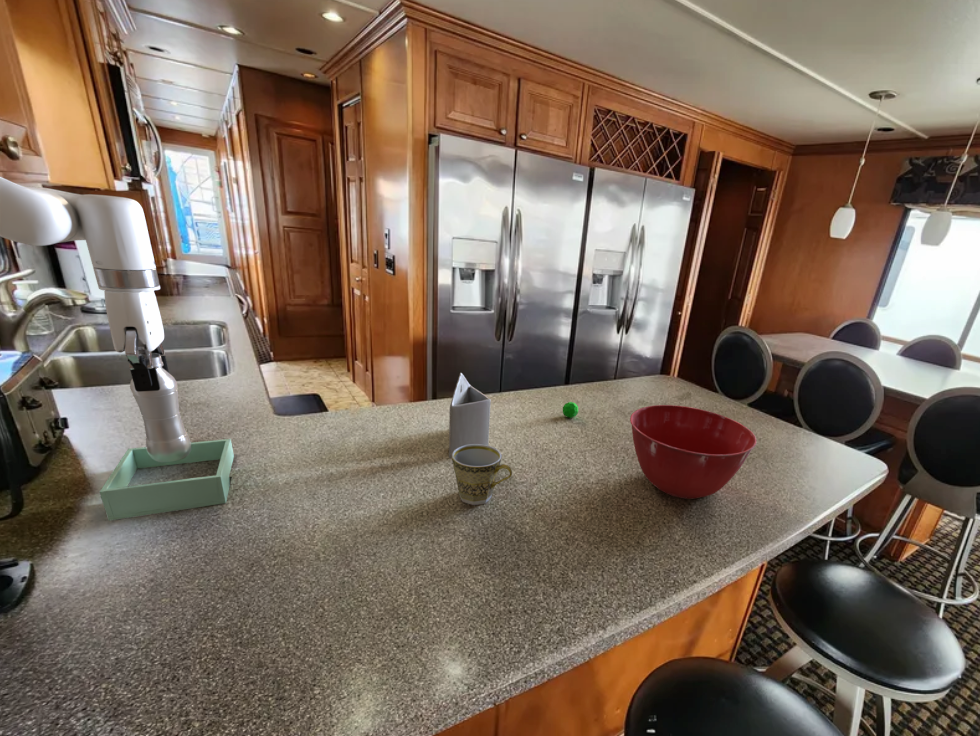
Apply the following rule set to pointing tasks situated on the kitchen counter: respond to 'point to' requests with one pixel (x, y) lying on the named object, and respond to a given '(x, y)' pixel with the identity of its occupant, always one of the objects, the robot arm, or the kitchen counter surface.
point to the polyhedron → (570, 409)
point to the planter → (468, 416)
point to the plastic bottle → (162, 417)
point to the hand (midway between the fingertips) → (153, 382)
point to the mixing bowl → (689, 448)
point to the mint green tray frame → (167, 483)
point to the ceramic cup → (477, 472)
